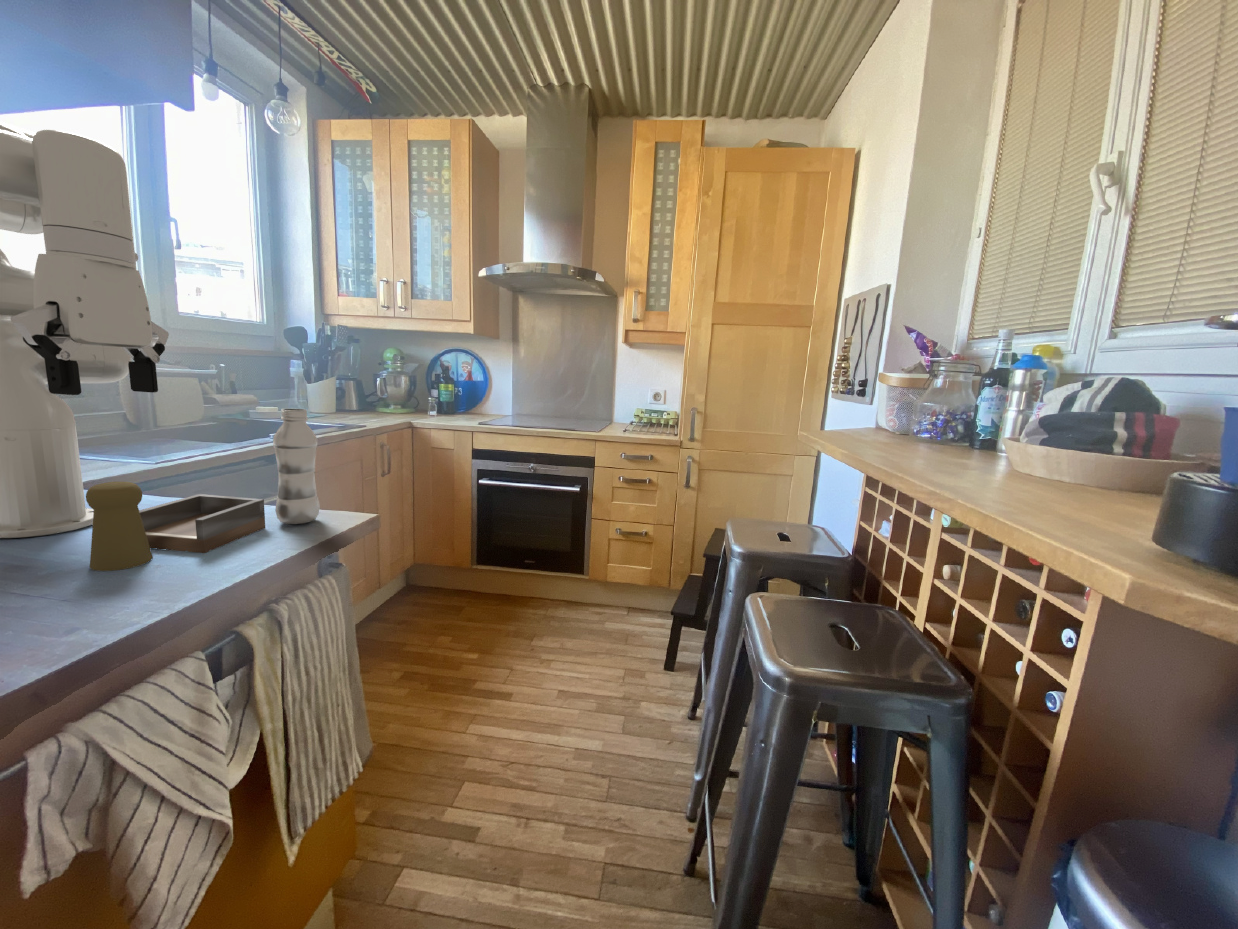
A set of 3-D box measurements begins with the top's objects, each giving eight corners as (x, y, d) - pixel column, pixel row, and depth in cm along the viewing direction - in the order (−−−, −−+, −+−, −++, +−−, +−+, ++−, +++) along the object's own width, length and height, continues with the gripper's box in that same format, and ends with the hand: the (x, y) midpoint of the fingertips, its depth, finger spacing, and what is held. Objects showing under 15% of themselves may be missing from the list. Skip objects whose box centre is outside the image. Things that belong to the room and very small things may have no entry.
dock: (130, 547, 72) (126, 513, 71) (201, 522, 83) (199, 494, 82) (204, 553, 71) (202, 520, 71) (265, 527, 83) (263, 499, 82)
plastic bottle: (266, 526, 84) (260, 409, 80) (294, 515, 91) (289, 406, 87) (303, 530, 84) (298, 412, 80) (328, 518, 90) (325, 409, 87)
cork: (113, 573, 63) (103, 490, 61) (76, 566, 64) (66, 484, 62) (164, 557, 69) (157, 481, 67) (130, 551, 70) (122, 476, 68)
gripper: (131, 264, 68) (144, 389, 71) (-33, 227, 51) (-7, 393, 54) (185, 268, 68) (195, 392, 71) (39, 232, 51) (60, 397, 54)
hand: (108, 392), depth 63 cm, fingers open, 9 cm apart
